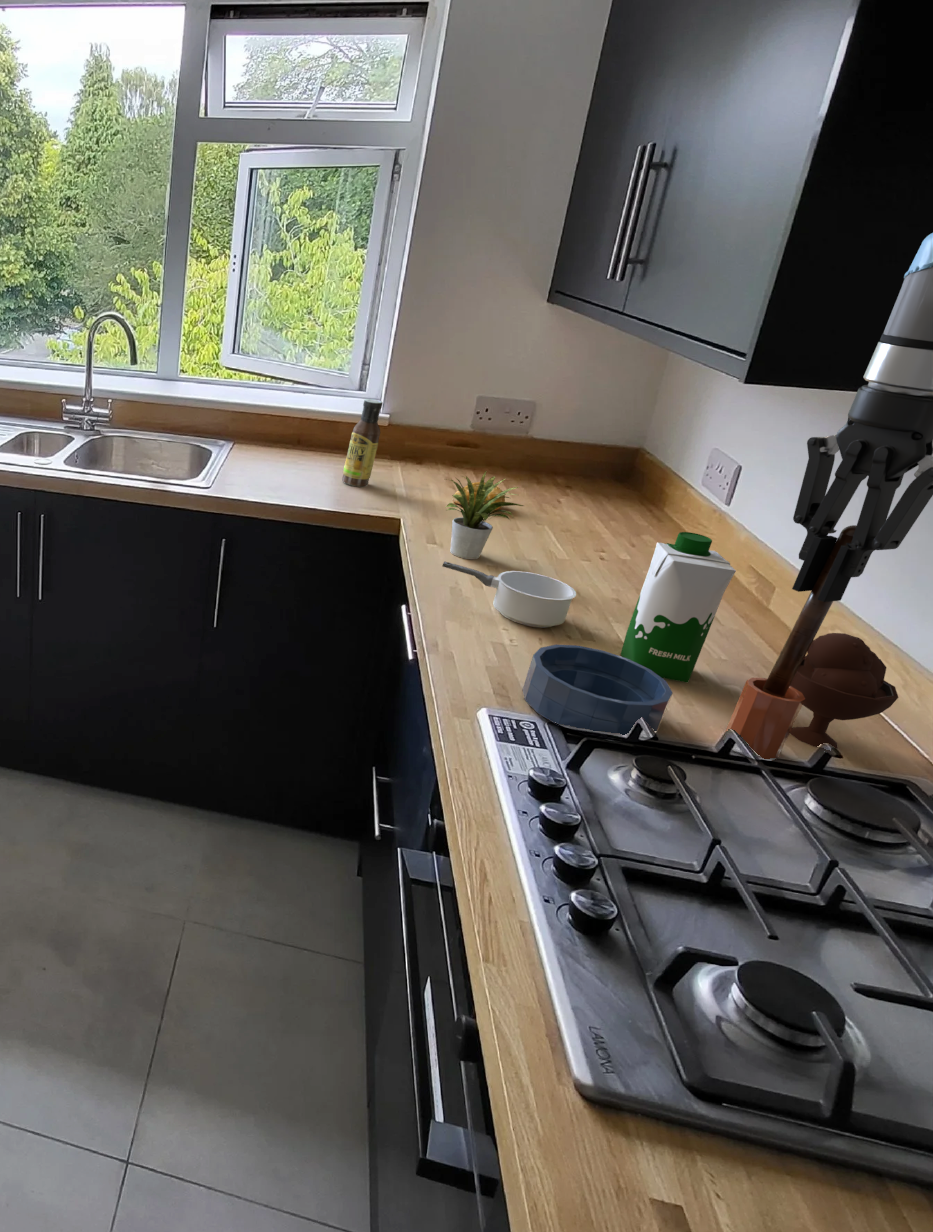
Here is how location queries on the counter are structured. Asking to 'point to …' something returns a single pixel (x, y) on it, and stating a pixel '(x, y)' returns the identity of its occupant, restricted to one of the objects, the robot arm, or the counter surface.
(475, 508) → the house plant
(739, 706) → the utensil pot
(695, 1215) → the counter surface
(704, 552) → the milk carton
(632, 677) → the mixing bowl
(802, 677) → the ice cream bowl
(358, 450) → the sauce bottle
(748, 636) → the counter surface
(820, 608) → the cooking stick
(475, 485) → the bagel
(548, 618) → the saucepan
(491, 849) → the counter surface
